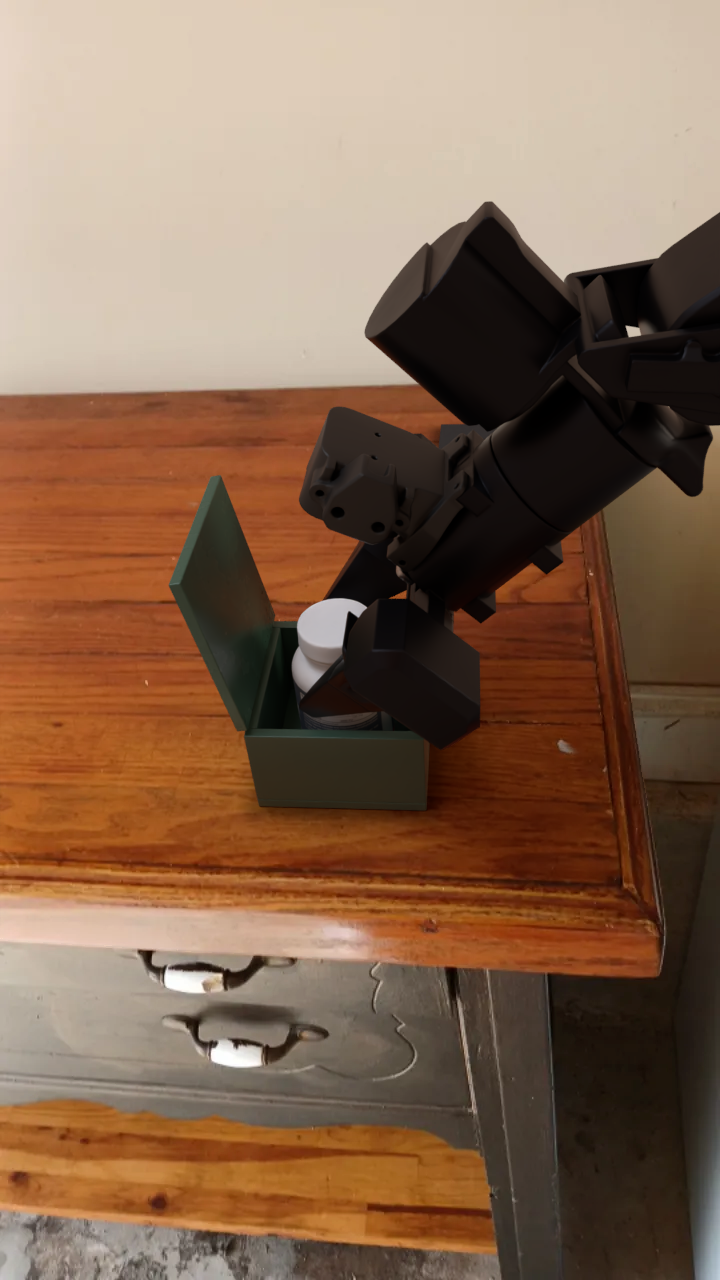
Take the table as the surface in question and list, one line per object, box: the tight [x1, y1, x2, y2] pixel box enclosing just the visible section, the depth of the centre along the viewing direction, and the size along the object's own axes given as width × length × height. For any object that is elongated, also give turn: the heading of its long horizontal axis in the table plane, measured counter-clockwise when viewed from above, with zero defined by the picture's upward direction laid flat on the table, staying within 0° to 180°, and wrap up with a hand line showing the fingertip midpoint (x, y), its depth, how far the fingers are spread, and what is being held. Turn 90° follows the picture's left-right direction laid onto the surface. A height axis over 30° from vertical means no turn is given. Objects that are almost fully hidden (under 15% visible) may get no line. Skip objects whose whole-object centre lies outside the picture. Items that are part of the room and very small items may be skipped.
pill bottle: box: [292, 598, 394, 731], centre depth 52 cm, size 5×5×9 cm
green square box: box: [243, 620, 431, 812], centre depth 54 cm, size 9×9×6 cm
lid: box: [168, 474, 276, 732], centre depth 49 cm, size 10×9×1 cm
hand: (314, 661), depth 51 cm, fingers open, 7 cm apart
